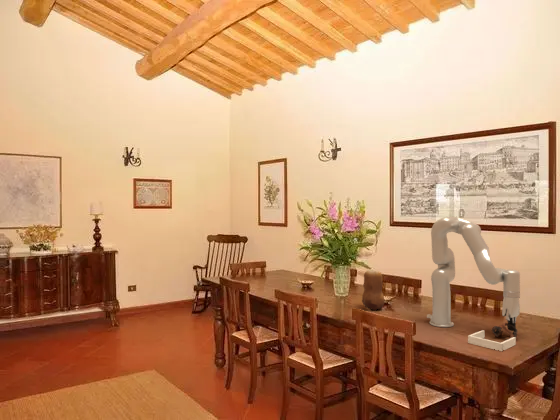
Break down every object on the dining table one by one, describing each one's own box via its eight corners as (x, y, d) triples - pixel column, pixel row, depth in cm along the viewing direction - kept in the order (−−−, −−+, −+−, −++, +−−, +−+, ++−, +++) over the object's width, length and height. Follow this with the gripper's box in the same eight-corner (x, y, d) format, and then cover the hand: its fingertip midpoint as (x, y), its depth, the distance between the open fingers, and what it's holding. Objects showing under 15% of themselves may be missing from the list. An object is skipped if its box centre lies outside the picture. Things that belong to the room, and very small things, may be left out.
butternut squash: (382, 307, 290) (382, 268, 290) (385, 312, 277) (385, 271, 276) (361, 306, 291) (361, 268, 291) (363, 311, 278) (363, 271, 278)
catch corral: (468, 343, 215) (468, 335, 215) (482, 337, 225) (482, 330, 225) (501, 351, 203) (501, 343, 203) (515, 344, 212) (515, 337, 212)
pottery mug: (504, 334, 230) (513, 322, 226) (514, 348, 221) (523, 336, 218) (484, 330, 228) (492, 318, 224) (493, 343, 219) (502, 331, 216)
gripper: (510, 291, 234) (510, 326, 235) (497, 295, 225) (497, 331, 225) (525, 293, 229) (525, 329, 229) (512, 297, 219) (513, 334, 219)
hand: (511, 330), depth 227 cm, fingers closed
